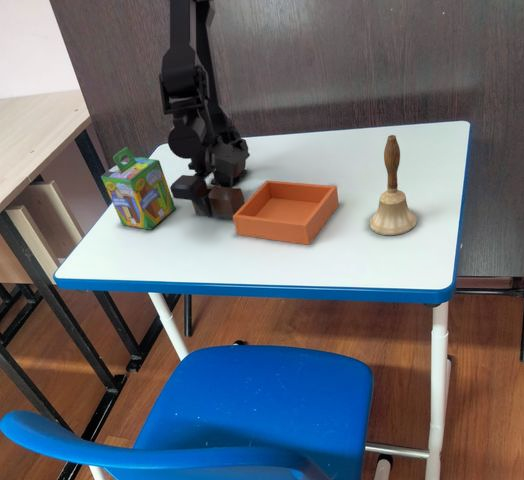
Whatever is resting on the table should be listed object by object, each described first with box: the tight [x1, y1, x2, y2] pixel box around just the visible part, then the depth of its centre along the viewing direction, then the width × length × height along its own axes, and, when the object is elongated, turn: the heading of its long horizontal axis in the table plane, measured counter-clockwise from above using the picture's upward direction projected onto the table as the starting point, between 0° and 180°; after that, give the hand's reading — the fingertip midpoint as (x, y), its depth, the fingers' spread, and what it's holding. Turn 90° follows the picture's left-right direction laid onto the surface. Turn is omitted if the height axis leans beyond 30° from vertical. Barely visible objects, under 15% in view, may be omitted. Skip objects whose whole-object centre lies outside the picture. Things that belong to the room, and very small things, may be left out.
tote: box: [232, 180, 340, 246], centre depth 101 cm, size 16×14×4 cm
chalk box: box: [100, 146, 177, 231], centre depth 110 cm, size 9×9×15 cm
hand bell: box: [369, 134, 418, 236], centre depth 90 cm, size 8×8×16 cm
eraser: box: [191, 184, 246, 221], centre depth 109 cm, size 10×4×4 cm, turn 61°
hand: (219, 207), depth 110 cm, fingers open, 7 cm apart
